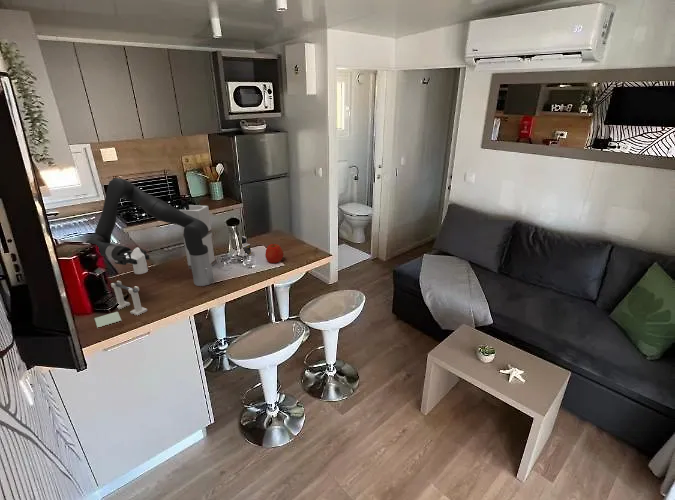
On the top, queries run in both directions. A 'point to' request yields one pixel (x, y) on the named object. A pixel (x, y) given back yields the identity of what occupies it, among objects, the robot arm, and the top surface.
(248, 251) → the medicine bottle
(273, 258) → the apple
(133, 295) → the hurdle posts
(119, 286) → the rod
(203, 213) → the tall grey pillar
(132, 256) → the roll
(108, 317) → the mat
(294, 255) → the top surface
